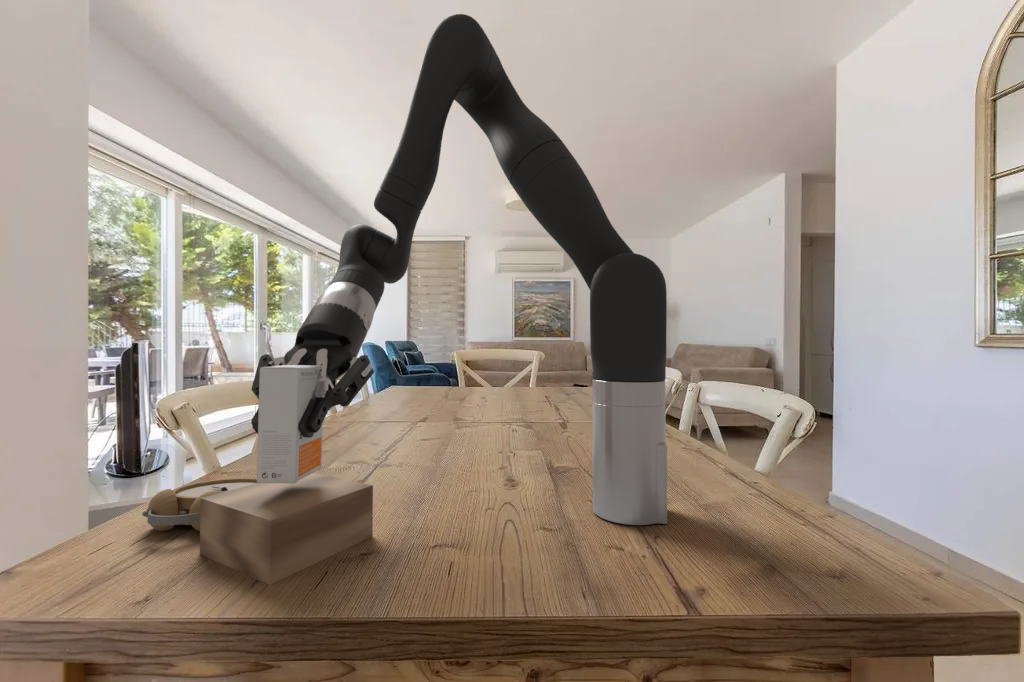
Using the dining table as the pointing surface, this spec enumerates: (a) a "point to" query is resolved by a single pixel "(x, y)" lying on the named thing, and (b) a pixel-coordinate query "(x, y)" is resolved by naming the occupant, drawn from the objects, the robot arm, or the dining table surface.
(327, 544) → the walnut block
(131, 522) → the dining table surface
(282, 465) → the skincare box
